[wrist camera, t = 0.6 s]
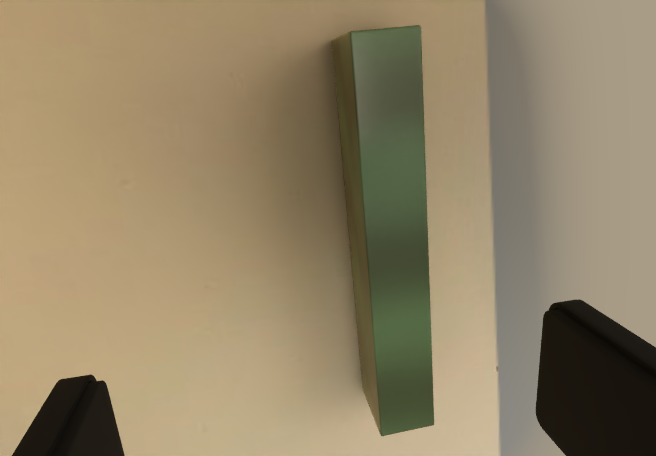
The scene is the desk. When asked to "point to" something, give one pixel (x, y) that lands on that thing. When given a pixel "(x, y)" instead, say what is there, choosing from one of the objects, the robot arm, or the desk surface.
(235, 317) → the desk surface
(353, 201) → the bar
